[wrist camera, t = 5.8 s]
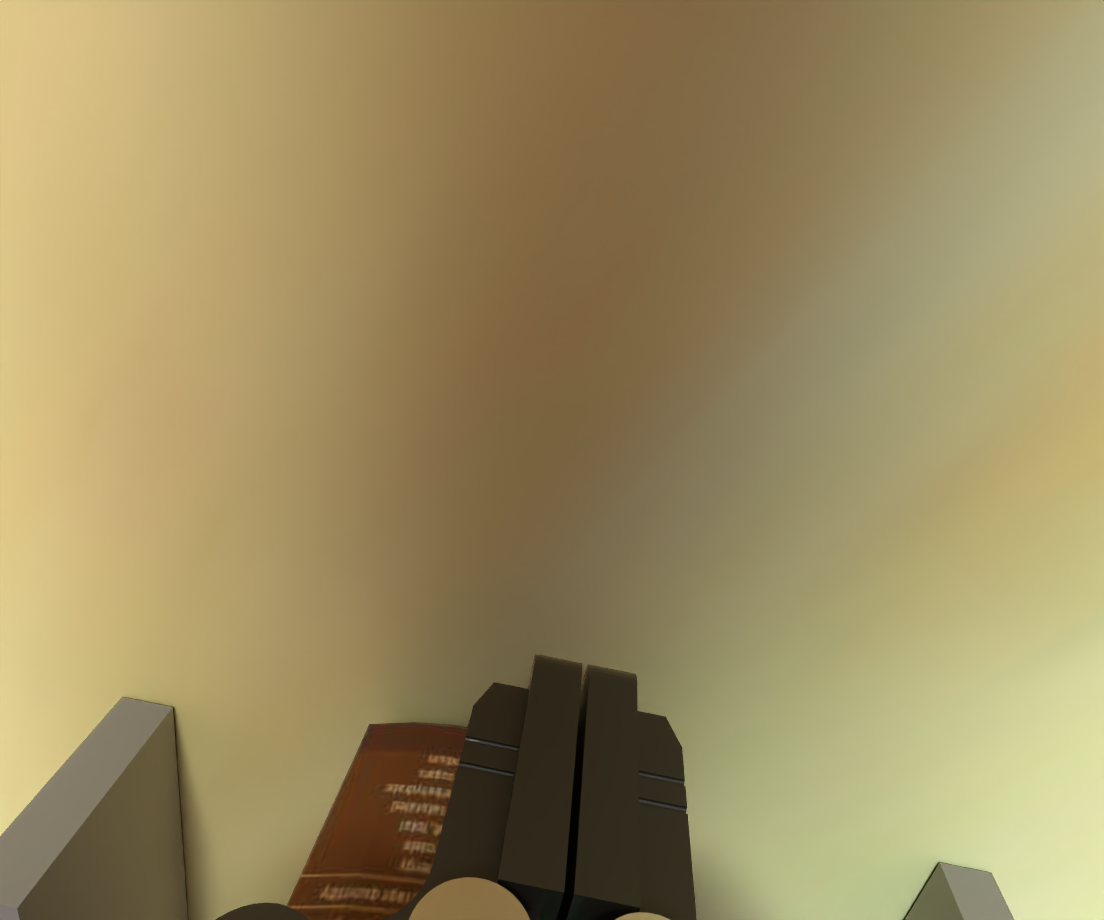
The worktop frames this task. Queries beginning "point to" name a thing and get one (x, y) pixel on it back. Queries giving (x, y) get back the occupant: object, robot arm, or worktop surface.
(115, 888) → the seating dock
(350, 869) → the food container
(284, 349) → the worktop surface
